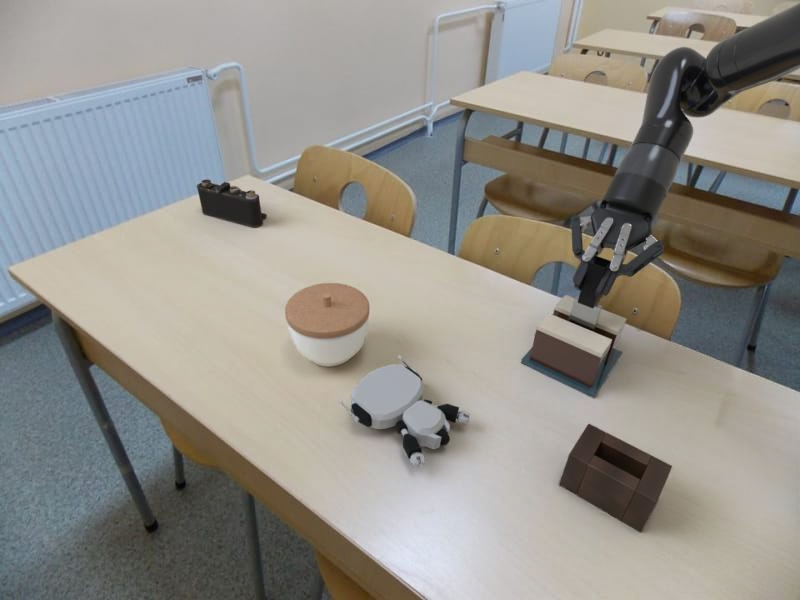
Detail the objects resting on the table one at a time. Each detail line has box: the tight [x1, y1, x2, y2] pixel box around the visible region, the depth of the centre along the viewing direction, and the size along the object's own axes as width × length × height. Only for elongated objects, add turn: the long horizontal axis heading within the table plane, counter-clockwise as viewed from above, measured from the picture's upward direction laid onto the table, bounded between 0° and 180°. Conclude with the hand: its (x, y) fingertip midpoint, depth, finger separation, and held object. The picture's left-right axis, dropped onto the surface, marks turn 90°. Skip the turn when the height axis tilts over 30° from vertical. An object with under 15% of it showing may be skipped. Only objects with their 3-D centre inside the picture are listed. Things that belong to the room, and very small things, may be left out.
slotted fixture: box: [520, 294, 627, 399], centre depth 80 cm, size 12×12×8 cm
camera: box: [196, 179, 268, 229], centre depth 118 cm, size 16×7×8 cm, turn 65°
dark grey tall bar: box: [568, 255, 612, 332], centre depth 76 cm, size 4×2×15 cm, turn 52°
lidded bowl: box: [284, 282, 371, 368], centre depth 80 cm, size 13×13×11 cm
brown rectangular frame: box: [558, 423, 673, 533], centre depth 62 cm, size 10×6×6 cm, turn 52°
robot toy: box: [336, 354, 471, 467], centre depth 70 cm, size 12×4×15 cm
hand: (587, 292), depth 73 cm, fingers closed on dark grey tall bar, 2 cm apart
